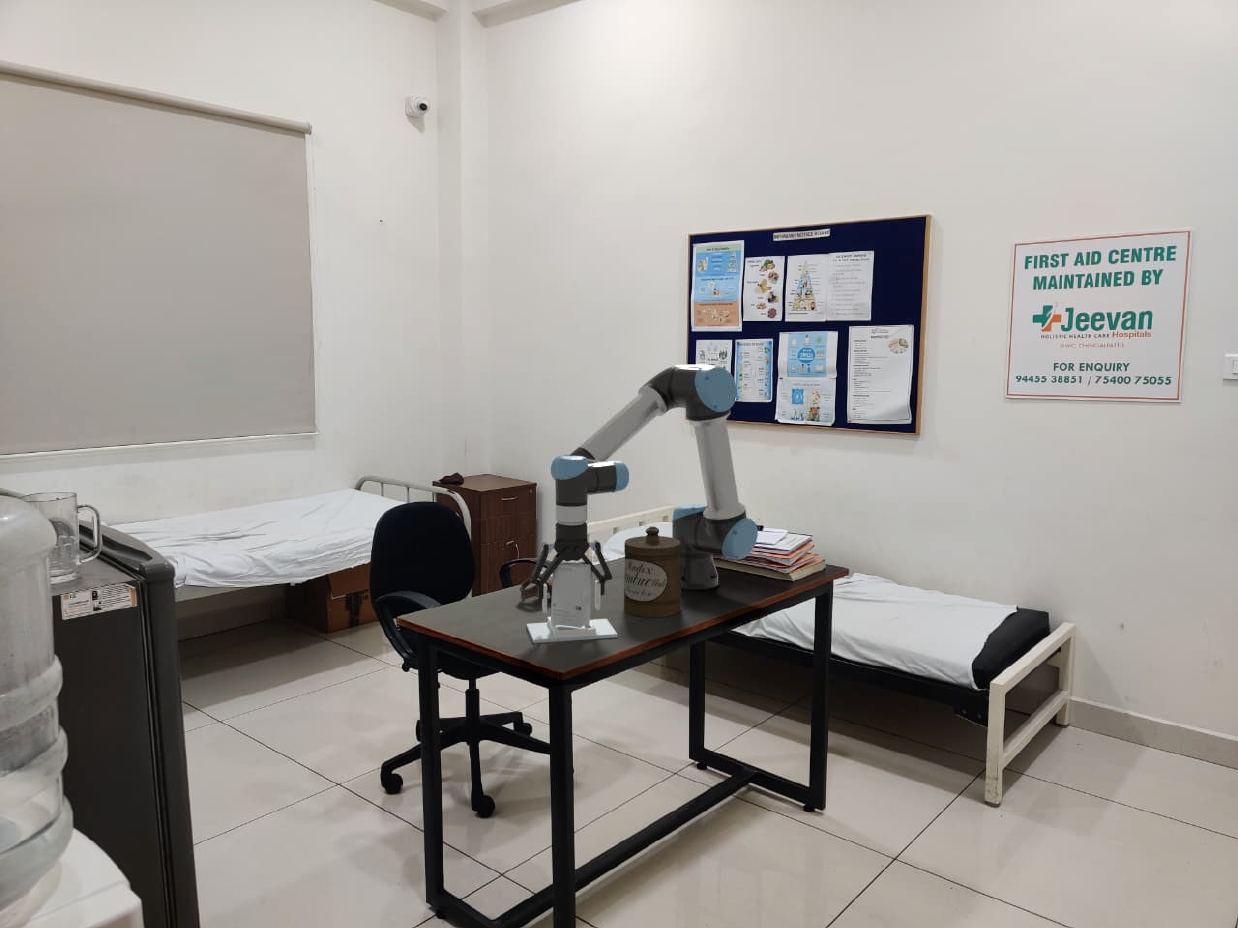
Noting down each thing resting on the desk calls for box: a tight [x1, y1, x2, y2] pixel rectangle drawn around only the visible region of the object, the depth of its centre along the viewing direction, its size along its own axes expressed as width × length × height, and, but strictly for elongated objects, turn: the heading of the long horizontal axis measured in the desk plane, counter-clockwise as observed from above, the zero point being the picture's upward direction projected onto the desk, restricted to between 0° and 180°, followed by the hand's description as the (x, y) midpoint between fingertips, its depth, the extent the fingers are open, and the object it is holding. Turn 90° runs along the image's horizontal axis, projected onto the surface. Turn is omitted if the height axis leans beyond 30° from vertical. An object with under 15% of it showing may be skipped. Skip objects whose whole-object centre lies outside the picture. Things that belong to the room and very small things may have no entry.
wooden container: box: [623, 525, 682, 618], centre depth 231 cm, size 15×15×22 cm
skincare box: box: [550, 560, 593, 628], centre depth 212 cm, size 8×6×15 cm
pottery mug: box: [519, 573, 552, 602], centre depth 240 cm, size 12×10×8 cm
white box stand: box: [526, 616, 618, 644], centre depth 213 cm, size 20×12×2 cm, turn 103°
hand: (571, 610), depth 213 cm, fingers open, 12 cm apart
